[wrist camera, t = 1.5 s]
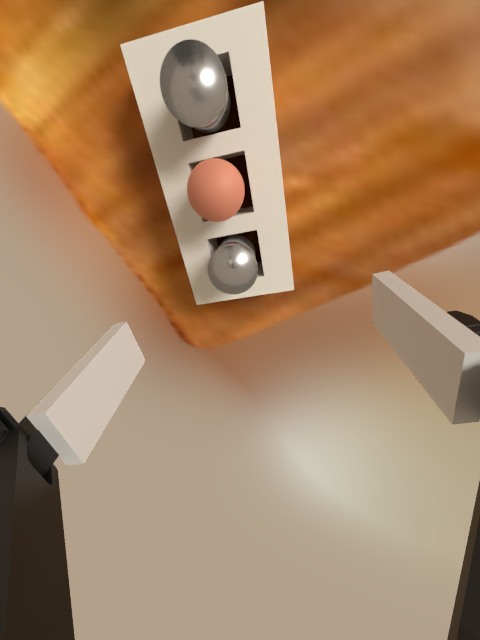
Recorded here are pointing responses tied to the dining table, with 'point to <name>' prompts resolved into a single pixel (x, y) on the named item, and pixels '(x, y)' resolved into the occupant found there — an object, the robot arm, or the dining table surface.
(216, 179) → the pink short cylinder
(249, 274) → the plunger
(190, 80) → the plunger
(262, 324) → the dining table surface
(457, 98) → the dining table surface
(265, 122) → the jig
